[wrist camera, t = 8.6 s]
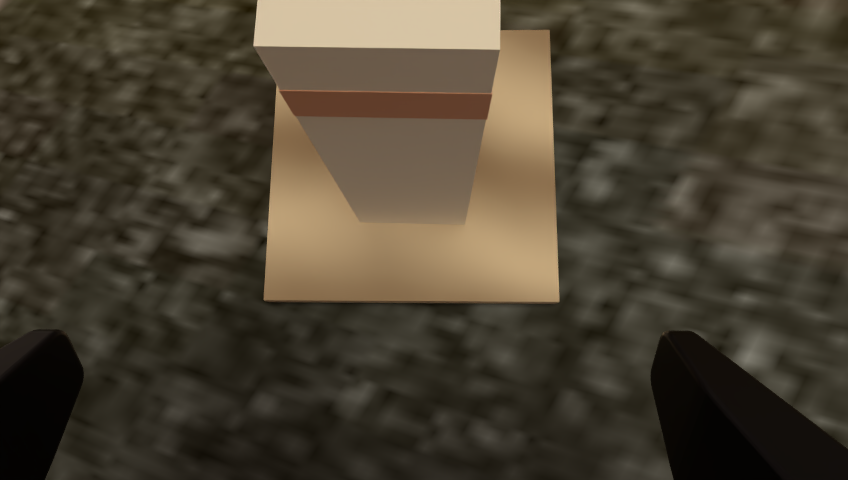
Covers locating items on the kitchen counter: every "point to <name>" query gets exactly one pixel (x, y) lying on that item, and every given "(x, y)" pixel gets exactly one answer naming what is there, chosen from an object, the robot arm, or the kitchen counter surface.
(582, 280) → the kitchen counter surface
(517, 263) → the coaster
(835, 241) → the kitchen counter surface
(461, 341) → the kitchen counter surface
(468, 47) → the beige upright block
